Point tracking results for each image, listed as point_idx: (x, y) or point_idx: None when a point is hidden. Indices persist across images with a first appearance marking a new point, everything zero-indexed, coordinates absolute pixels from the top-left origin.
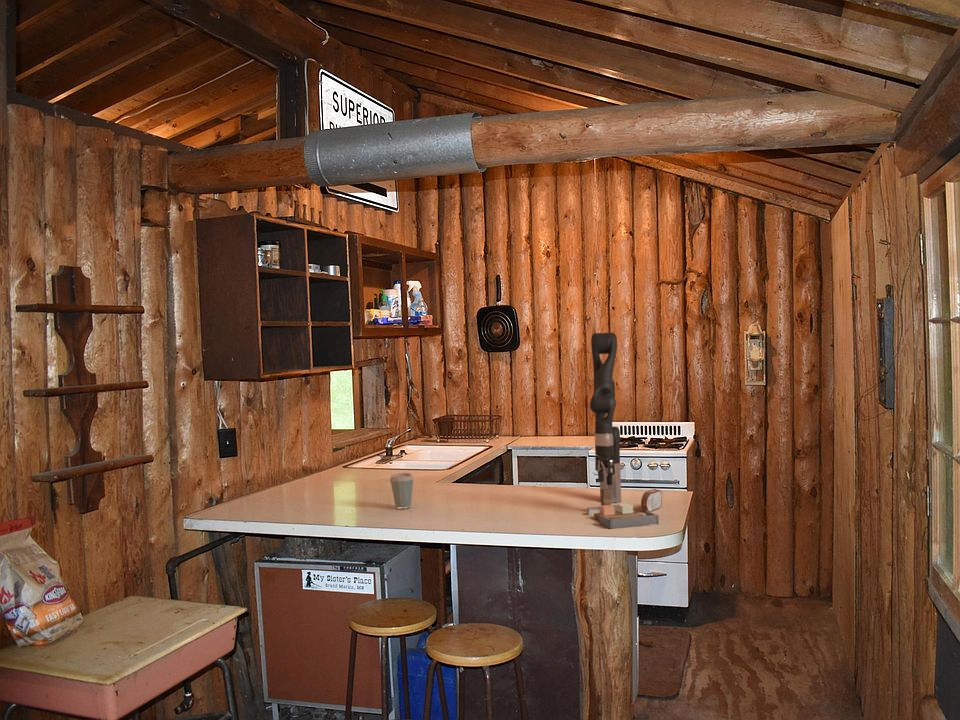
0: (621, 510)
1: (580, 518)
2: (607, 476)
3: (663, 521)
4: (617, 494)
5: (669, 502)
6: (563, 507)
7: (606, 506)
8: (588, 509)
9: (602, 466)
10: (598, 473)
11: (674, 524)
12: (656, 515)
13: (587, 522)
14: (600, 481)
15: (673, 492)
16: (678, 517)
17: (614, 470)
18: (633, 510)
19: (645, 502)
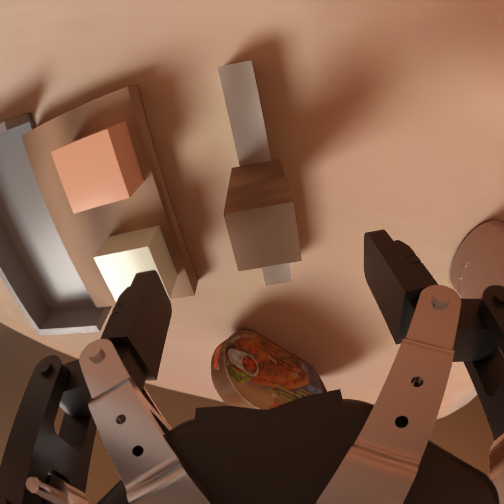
0: (114, 241)
1: (150, 16)
2: (112, 337)
3: (90, 337)
4: (466, 298)
5: (366, 400)
6: (451, 10)
7: (86, 171)
8: (226, 65)
9: (257, 440)
10: (410, 287)
11: (61, 346)
12: (35, 329)
13: (60, 54)
14: (366, 247)
15: (455, 404)
16: (149, 382)
17: (65, 435)
18: (181, 296)
19: (212, 363)
